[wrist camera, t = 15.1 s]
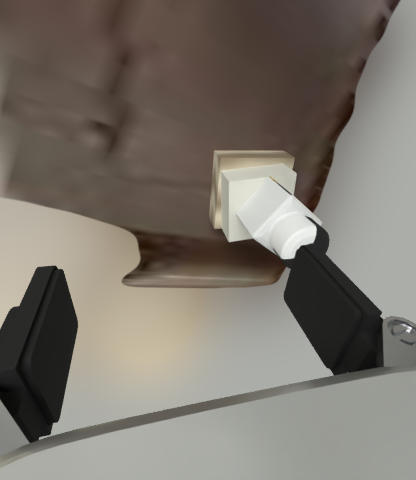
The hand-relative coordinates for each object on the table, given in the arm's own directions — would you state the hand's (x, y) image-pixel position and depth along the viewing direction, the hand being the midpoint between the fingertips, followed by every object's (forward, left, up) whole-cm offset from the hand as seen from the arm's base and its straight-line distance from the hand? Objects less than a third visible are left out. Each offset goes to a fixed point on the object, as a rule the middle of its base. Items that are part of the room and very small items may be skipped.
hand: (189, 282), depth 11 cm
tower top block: (+10, +16, -30) cm, 36 cm away
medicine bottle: (+10, +16, -26) cm, 32 cm away
